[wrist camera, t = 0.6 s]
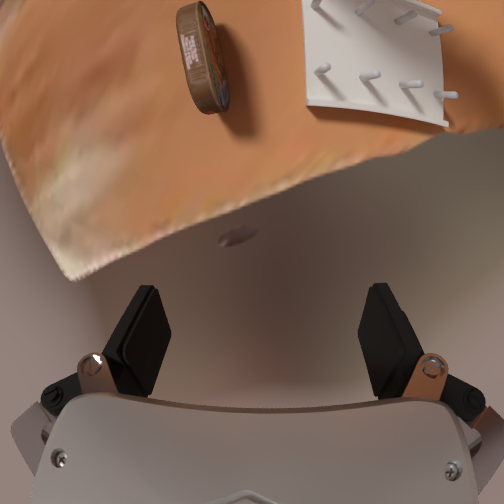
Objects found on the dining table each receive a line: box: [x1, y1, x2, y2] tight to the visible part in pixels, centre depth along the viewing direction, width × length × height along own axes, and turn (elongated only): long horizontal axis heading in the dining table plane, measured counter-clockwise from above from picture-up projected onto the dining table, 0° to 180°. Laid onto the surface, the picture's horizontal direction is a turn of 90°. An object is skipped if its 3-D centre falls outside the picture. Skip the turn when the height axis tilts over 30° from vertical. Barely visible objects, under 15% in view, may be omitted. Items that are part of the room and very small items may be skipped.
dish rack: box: [301, 0, 459, 127], centre depth 22 cm, size 19×20×6 cm
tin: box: [176, 1, 229, 115], centre depth 24 cm, size 15×3×8 cm, turn 10°
